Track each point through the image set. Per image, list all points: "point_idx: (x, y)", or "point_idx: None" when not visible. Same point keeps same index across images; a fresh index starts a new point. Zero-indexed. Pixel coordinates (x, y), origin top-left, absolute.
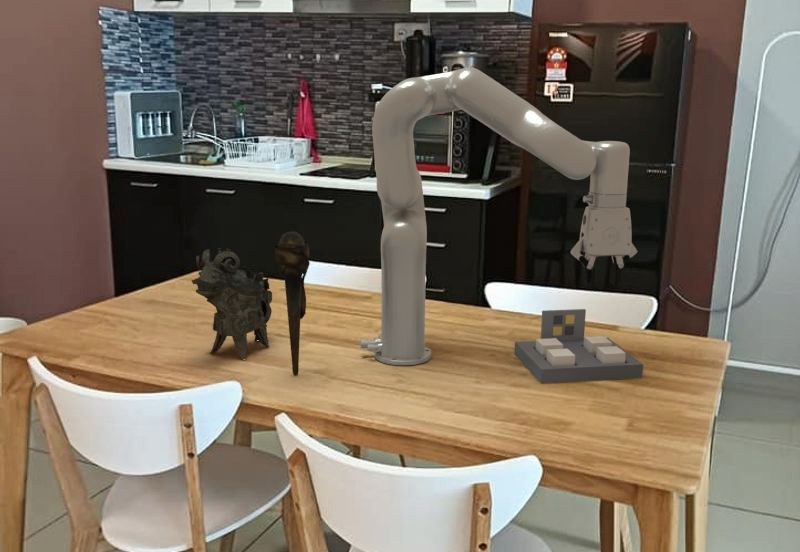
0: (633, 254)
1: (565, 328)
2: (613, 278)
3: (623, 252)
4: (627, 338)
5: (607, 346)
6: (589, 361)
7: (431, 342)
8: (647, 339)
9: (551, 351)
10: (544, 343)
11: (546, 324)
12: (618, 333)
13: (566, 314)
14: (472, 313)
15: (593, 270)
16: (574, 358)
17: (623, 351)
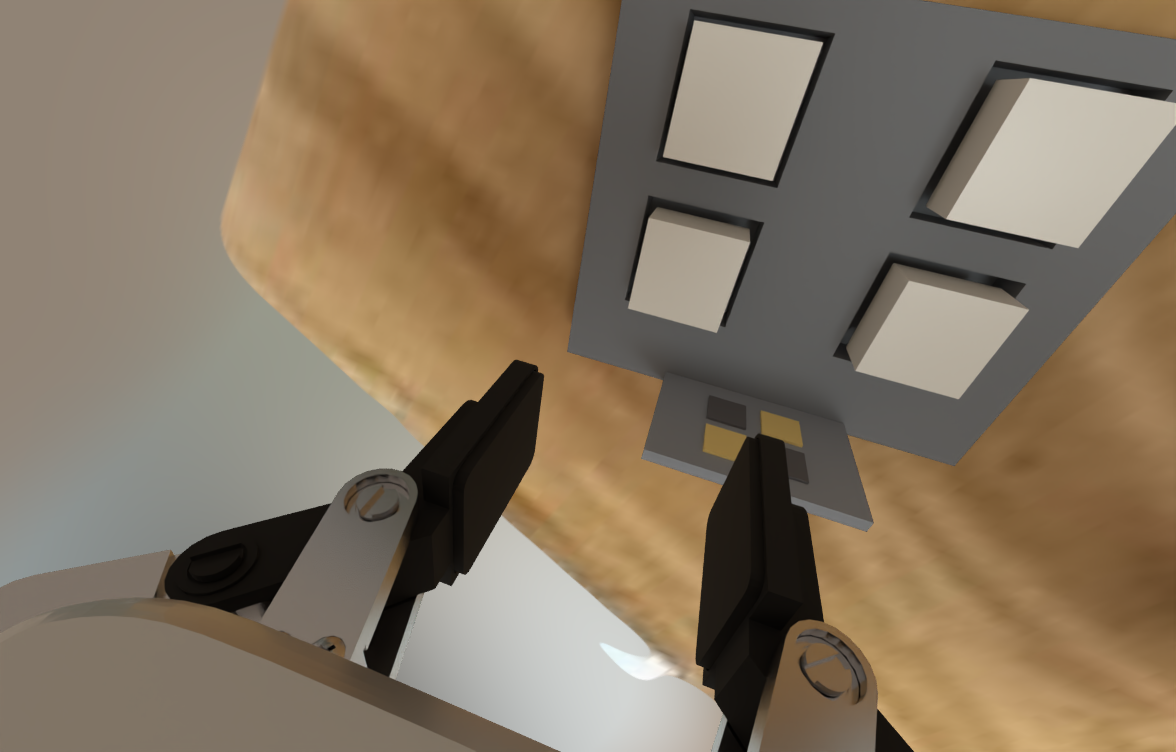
0: (90, 576)
1: (746, 422)
2: (515, 440)
3: (142, 674)
4: (465, 385)
5: (670, 218)
6: (869, 105)
7: (1099, 628)
8: (414, 355)
9: (1093, 205)
10: (984, 334)
11: (837, 466)
12: None
13: None
14: None
15: (780, 580)
16: (1025, 78)
17: (686, 55)
